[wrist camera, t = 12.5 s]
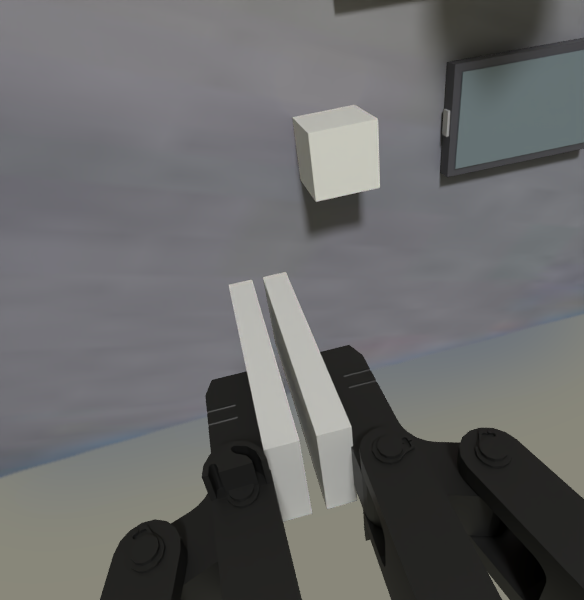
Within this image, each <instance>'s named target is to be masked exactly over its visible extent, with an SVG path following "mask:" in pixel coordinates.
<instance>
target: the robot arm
mask: <svg viewBox="0 0 584 600" xmlns="http://www.w3.org/2000/svg"><path fill="white" fill-rule="evenodd" d="M263 281H264V286H265V291H266V296H267V302H268V307H269V312H270V318H271V323H272V328H273V334H274V339H275V343H276V346H277V350H278V353H279V356H280V359H281V363H282V366H283V369H284V372H285V375H286V379H287V382H288V385H289V388H290V392H291V395H292V398H293V401H294V404H295V408H296V411H297V414H298V417H299V420H300V424H301V427H302V430H303V434H304V437H305V440H306V443H307V446H308V449H309V453H310V456H311V459H312V463H313V466H314V469H315V472H316V475H317V479H318V482H319V485H320V488H321V492H322V495H323V498H324V501H325V504H326V508H327V509H330V508H334V507H337V506H341V505H344V504H348V503H351V502H354V501H357V494H358V496H359V499H360V501H361V504H362V507H363V514H364V530H365V537H366V540H371V543H372V546H373V548H374V551H375V554H376V557H377V560H378V563H379V566H380V568H381V571H382V574H383V577H384V580H385V583H386V586H387V589H388V591H389V594H390V597H391V600H502V599H501V597H500V595H499V593H498V591H497V589H496V587H495V586H494V584H493V582H492V580H491V578H490V576H491V577H492V578H493V579H494V580H495V582H496V583H497V584H498V585H499V587H500V588H501V589H502V590H503V592H504V593H505V594H506V595H507V597H508V598H509V599H510V600H584V499H583V498H582V497H581V496H579V495H578V494H577V493H576V492H575V491H574V490H572V488H571V487H569V486H568V485H567V484H566V483H565V482H564V481H563V480H562V479H560V478H559V477H558V476H557V475H556V474H555V473H554V472H553V471H551V470H550V469H549V468H548V467H547V466H546V465H545V464H544V463H542V462H541V461H540V460H539V459H538V458H537V457H536V456H535V455H533V454H532V453H531V452H530V451H529V450H528V449H527V448H526V447H524V446H523V445H522V444H521V443H520V442H519V441H518V440H517V439H515V438H514V437H512V436H511V435H509V434H507V433H506V432H503V431H500V430H497V429H494V428H478V429H474V430H471V431H469V432H468V433H467V434H466V435H465V436H463V437H462V440H461V442H460V443H452V442H450V443H449V442H431V441H426V440H422V439H419V438H417V437H415V436H413V435H412V434H410V433H408V432H407V431H406V430H405V429H404V428H403V427H402V426H401V425H400V423H399V422H398V420H397V419H396V416H395V415H394V413H393V411H392V409H391V407H390V406H389V404H388V402H387V400H386V398H385V396H384V394H383V392H382V390H381V389H380V387H379V385H378V383H377V382H376V380H375V377H374V376H373V374H372V372H371V371H370V368H369V366H368V365H367V363H366V361H365V359H364V357H363V355H362V354H360V353H359V352H358V351H356V350H355V349H354V348H352V347H351V346H350V345H347V346H343V347H339V348H335V349H331V350H327V351H323V352H320V351H319V349H318V347H317V344H316V342H315V340H314V337H313V335H312V333H311V330H310V328H309V326H308V323H307V321H306V319H305V316H304V314H303V311H302V309H301V307H300V304H299V302H298V300H297V297H296V295H295V293H294V290H293V288H292V286H291V283H290V281H289V279H288V276H287V274H286V272H284V273H279V274H275V275H270V276H266V277H263ZM229 289H230V294H231V299H232V303H233V308H234V313H235V317H236V322H237V327H238V332H239V336H240V341H241V346H242V351H243V355H244V360H245V365H246V369H247V372H243V373H239V374H235V375H230V376H226V377H222V378H218V379H214V380H212V381H211V383H210V386H209V388H208V391H207V393H206V406H207V413H208V414H207V416H208V425H209V437H210V447H211V454H210V455H209V457H208V459H207V461H206V462H205V464H204V466H203V472H202V479H203V481H204V484H205V486H206V489H207V492H208V494H207V495H206V497H205V499H204V500H203V501H202V502H201V503H200V504H199V505H198V506H197V507H196V508H194V509H193V510H192V511H191V512H189V513H187V514H186V515H184V516H183V517H181V518H179V519H178V520H176V521H174V522H173V523H171V524H170V523H169V522H167V521H162V520H152V521H148V522H144V523H141V524H140V525H138V526H137V527H135V528H133V529H132V530H130V531H129V532H128V533H127V534H126V536H125V537H124V538H123V539H122V540H121V541H120V543H119V545H118V547H117V549H116V551H115V553H114V555H113V558H112V562H111V565H110V568H109V572H108V575H107V578H106V581H105V585H104V588H103V591H102V595H101V598H100V600H302V599H301V595H300V591H299V586H298V582H297V578H296V574H295V570H294V566H293V562H292V558H291V553H290V549H289V545H288V541H287V537H286V533H285V529H284V524H283V522H285V521H289V520H292V519H295V518H299V517H302V516H306V515H309V514H312V508H311V502H310V497H309V491H308V485H307V480H306V474H305V468H304V463H303V457H302V452H301V446H300V441H299V437H298V434H297V430H296V427H295V424H294V420H293V417H292V413H291V410H290V407H289V403H288V400H287V397H286V393H285V390H284V386H283V383H282V380H281V376H280V373H279V370H278V366H277V363H276V359H275V356H274V353H273V349H272V346H271V343H270V339H269V336H268V332H267V329H266V326H265V322H264V319H263V316H262V312H261V309H260V305H259V302H258V299H257V295H256V292H255V289H254V285H253V282H252V280H248V281H244V282H239V283H235V284H230V285H229ZM356 491H357V492H356ZM488 573H489V574H490V576H489V574H488Z"/></svg>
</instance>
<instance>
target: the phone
mask: <svg viewBox="0 0 584 600" xmlns="http://www.w3.org/2000/svg"><path fill="white" fill-rule="evenodd" d="M442 135H443V136H442V152H441V168H440V173H442V174H443V175H445V176H446V177H450V176H455V175H460V174H464V173H469V172H474V171H479V170H483V169H488V168H493V167H498V166H503V165H507V164H512V163H517V162H522V161H526V160H531V159H536V158H541V157H545V156H550V155H555V154H560V153H564V152H569V151H574V150H579V149H584V38H580V39H574V40H568V41H563V42H557V43H552V44H546V45H541V46H535V47H530V48H524V49H518V50H513V51H507V52H502V53H496V54H491V55H485V56H479V57H474V58H468V59H463V60H457V61H452V62H447V72H446V88H445V104H444V111H443V127H442Z"/></svg>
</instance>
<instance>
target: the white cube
mask: <svg viewBox="0 0 584 600" xmlns="http://www.w3.org/2000/svg"><path fill="white" fill-rule="evenodd" d="M292 119H293V127H294V135H295V142H296V150H297V158H298V165H299V173H300V180H301V182H302V183H303V184H304V186H305V187H306V189H307V190H308V191H309V193H310V194H311V196H312V197H313V198H314V200H315V201H316V202H318V201H322V200H327V199H331V198H336V197H340V196H345V195H349V194H354V193H358V192H363V191H367V190H372V189H376V188H380V174H379V137H378V119H377V118H376V117H374V116H372V115H371V114H369V113H367V112H366V111H364V110H362V109H361V108H359V107H357V106H356V105H351V106H346V107H341V108H336V109H331V110H326V111H321V112H316V113H311V114H306V115H301V116H296V117H292Z"/></svg>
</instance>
